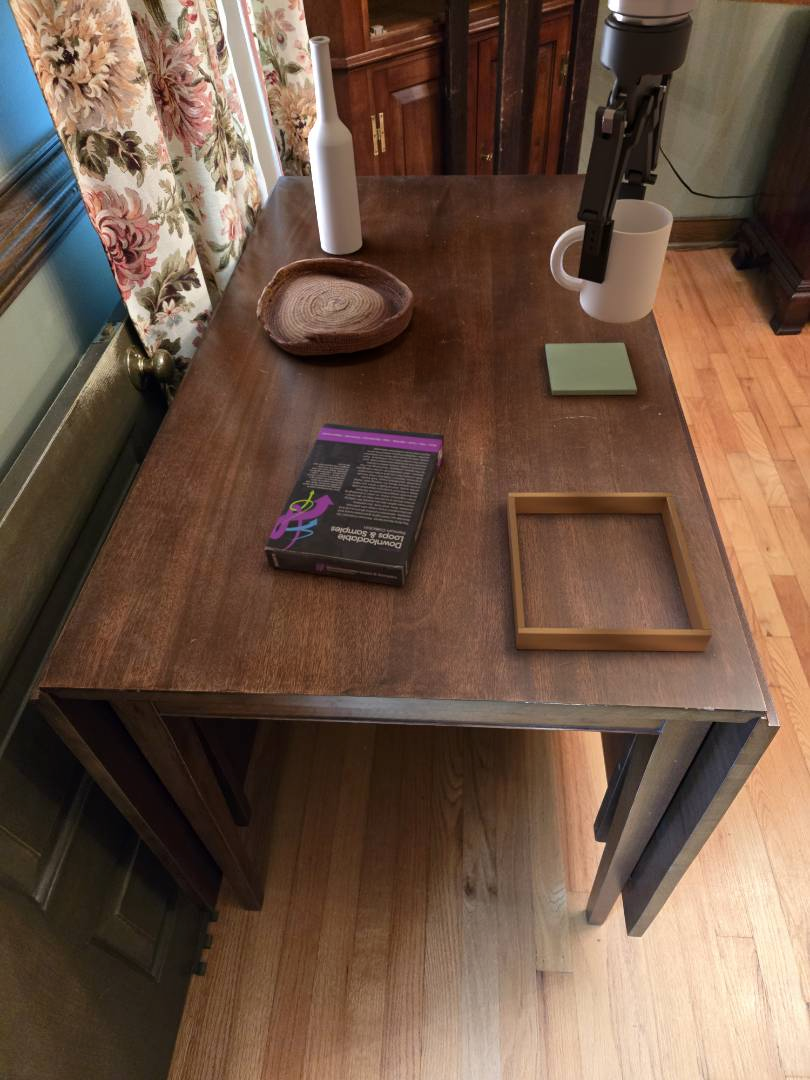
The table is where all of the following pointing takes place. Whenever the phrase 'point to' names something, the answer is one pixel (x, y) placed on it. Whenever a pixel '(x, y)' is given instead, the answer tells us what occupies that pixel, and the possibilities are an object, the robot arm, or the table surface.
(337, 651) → the table surface
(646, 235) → the mug
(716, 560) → the table surface
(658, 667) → the table surface
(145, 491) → the table surface
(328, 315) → the basket
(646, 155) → the robot arm
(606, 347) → the plate
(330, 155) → the bottle
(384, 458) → the box
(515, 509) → the square wooden frame
